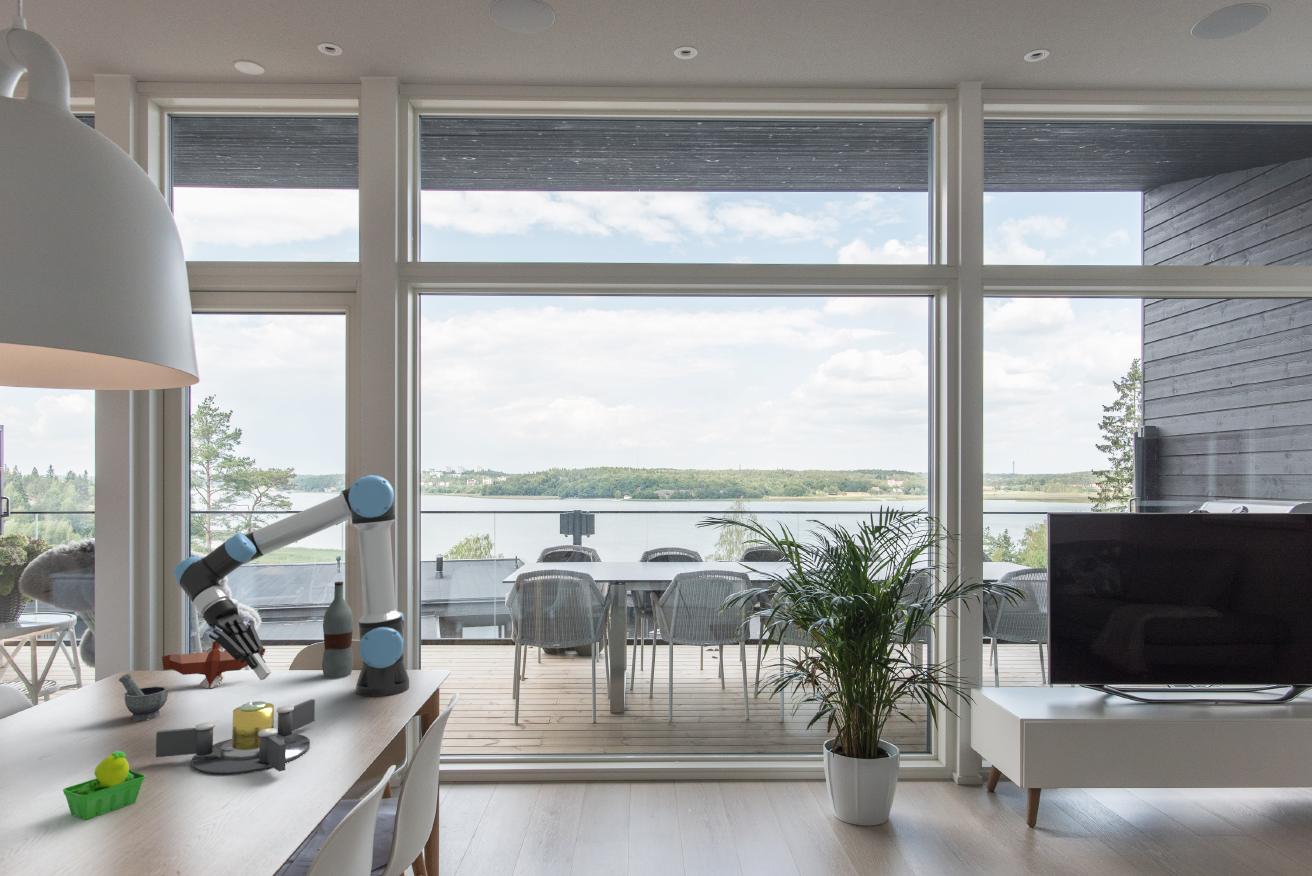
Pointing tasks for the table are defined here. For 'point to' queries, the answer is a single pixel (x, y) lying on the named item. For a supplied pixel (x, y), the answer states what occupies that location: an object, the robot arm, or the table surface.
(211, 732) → the knob far
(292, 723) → the knob near arm
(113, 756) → the fruit basket
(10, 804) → the table surface
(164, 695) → the mortar and pestle
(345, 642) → the bottle
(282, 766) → the knob left
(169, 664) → the decorative bird
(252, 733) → the tribrach
